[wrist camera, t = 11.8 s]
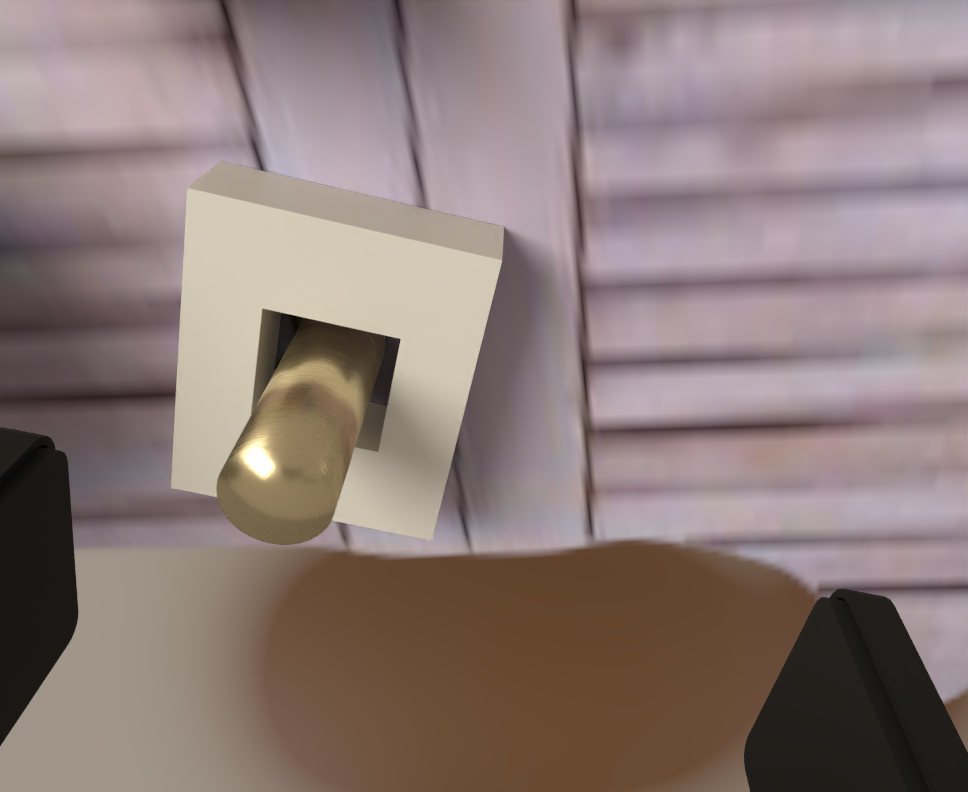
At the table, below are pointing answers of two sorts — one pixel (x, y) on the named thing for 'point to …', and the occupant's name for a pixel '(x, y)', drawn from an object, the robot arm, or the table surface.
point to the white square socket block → (337, 300)
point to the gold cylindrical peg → (301, 435)
